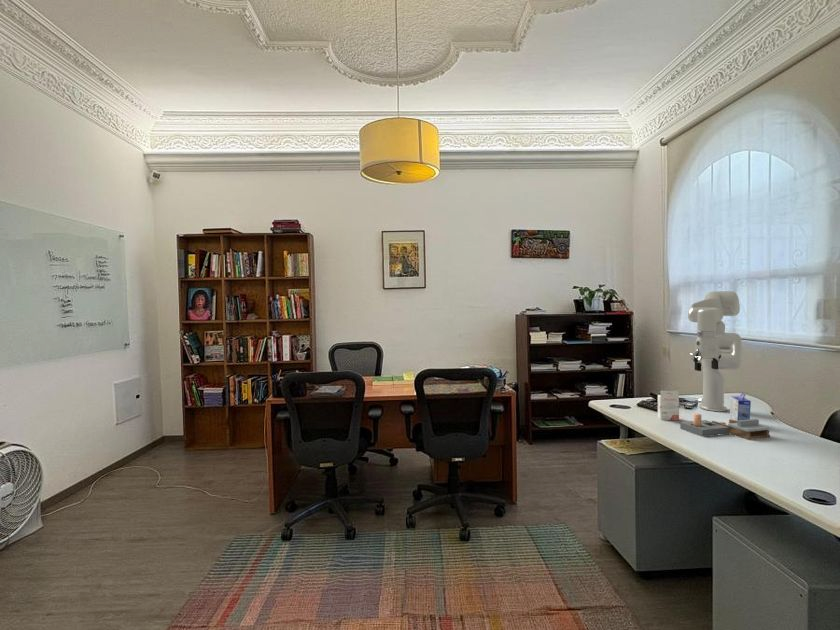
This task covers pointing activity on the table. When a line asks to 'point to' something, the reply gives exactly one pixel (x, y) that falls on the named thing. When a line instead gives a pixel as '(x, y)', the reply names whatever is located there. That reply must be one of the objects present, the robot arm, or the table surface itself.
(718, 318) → the robot arm
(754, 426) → the lid
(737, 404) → the ink cartridge box
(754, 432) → the box
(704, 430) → the socket board
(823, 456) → the table surface
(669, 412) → the ink cartridge box
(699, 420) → the peg
